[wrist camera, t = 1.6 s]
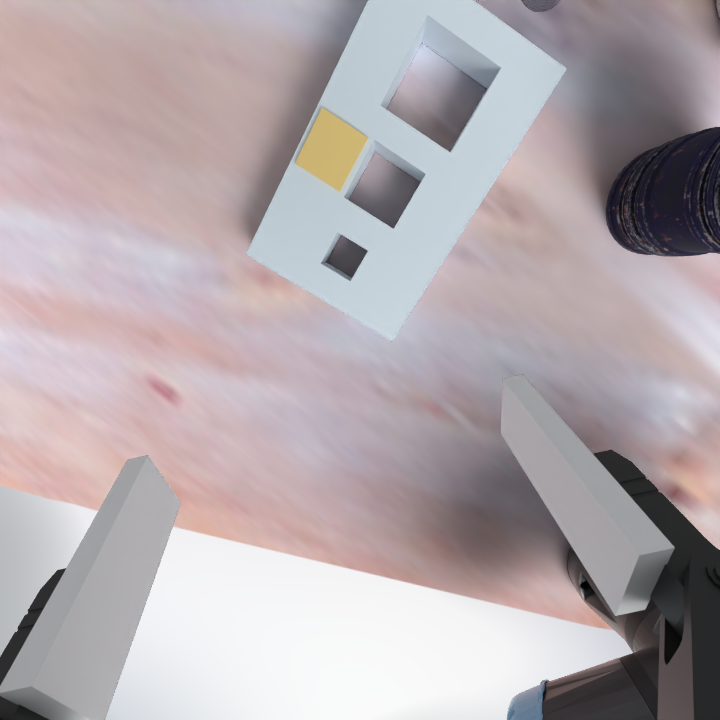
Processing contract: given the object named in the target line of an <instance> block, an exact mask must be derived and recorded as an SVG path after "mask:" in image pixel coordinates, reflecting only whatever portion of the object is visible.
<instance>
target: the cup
mask: <svg viewBox="0 0 720 720" xmlns="http://www.w3.org/2000/svg"><path fill="white" fill-rule="evenodd" d="M716 7H717V12H718V16H719V19H720V0H716Z"/></svg>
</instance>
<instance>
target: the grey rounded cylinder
mask: <svg viewBox="0 0 720 720" xmlns="http://www.w3.org/2000/svg"><path fill="white" fill-rule="evenodd" d="M559 1H560V0H522V2H523V3H524V5H525V6H526V7H527V8H529V9H530V10H532V11H535V12H544V11H547V10H549V9H551V8H553V7H554V6H555V5H556V4H557V3H558V2H559Z"/></svg>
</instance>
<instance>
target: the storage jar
mask: <svg viewBox="0 0 720 720" xmlns="http://www.w3.org/2000/svg"><path fill="white" fill-rule="evenodd" d="M606 219H607V225H608V227H609V230H610V233H611V234H612V236H613V238H614V239H615V240H616V241H617V242H618V244H620V245H621V246H622V247H623V248H625V249H627V250H629V251H631V252H634V253H637V254H644V255H659V256H693V255H702V254H707V253H719V254H720V127H714V128H710V129H705V130H702V131H699V132H696V133H693V134H688V135H685V136H682V137H680V138H677V139H674V140H672V141H669V142H667V143H665V144H663V145H662V146H659V147H657V148H654V149H651V150H649V151H646V152H644V153H643V154H641V155H639V156H638V157H636V158H635V159H634V160H632V161H631V162H630V163H629V164H628V165H627V166H626V167H625V168H624V169H623V170H622V171H621V172H620V174H619V175H618V176H617V178H616V180H615V181H614V183H613V185H612V187H611V190H610V192H609V196H608V199H607V205H606Z"/></svg>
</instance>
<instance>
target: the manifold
mask: <svg viewBox="0 0 720 720" xmlns="http://www.w3.org/2000/svg"><path fill="white" fill-rule="evenodd" d="M421 43H423V44H424V45H426V46H427V47H429V48H430V49H431V50H433V51H434V52H436V53H437V54H439V55H440V56H441V57H443V58H444V59H446V60H447V61H448V62H450V63H451V64H453V65H454V66H456V67H457V68H458V69H460V70H461V71H463V72H464V73H466V74H467V75H468V76H470V77H471V78H473V79H474V80H475V81H477V82H478V83H480V84H481V85H483V86H484V87H485V88H487V90H486V91H485V93H484V95H483V97H482V98H481V100H480V102H479V103H478V105H477V107H476V108H475V110H474V112H473V113H472V115H471V117H470V118H469V120H468V122H467V123H466V125H465V127H464V128H463V130H462V132H461V134H460V135H459V137H458V139H457V140H456V142H455V144H454V145H453V147H452V149H451V150H450V152H449V151H447V150H446V149H444V148H443V147H441V146H440V145H438V144H437V143H435V142H434V141H433V140H431V139H430V138H428V137H427V136H425V135H424V134H422V133H421V132H419V131H418V130H416V129H415V128H413V127H412V126H410V125H409V124H407V123H406V122H404V121H403V120H401V119H400V118H398V117H397V116H395V115H394V114H392V113H391V112H389V111H388V110H386V109H387V107H388V105H389V103H390V101H391V99H392V97H393V96H394V94H395V92H396V90H397V88H398V86H399V84H400V82H401V81H402V79H403V77H404V75H405V73H406V71H407V69H408V67H409V65H410V64H411V62H412V60H413V58H414V56H415V54H416V52H417V50H418V49H419V47H420V45H421ZM566 70H567V68H566V67H564V66H563V65H561V64H560V63H559V62H557V61H556V60H555V59H553V58H552V57H551V56H549V55H548V54H546V53H545V52H544V51H542V50H541V49H540V48H538V47H537V46H536V45H534V44H533V43H531V42H530V41H529V40H527V39H526V38H525V37H523V36H522V35H520V34H519V33H518V32H516V31H515V30H514V29H512V28H511V27H510V26H508V25H507V24H505V23H504V22H503V21H501V20H500V19H499V18H497V17H496V16H495V15H493V14H492V13H490V12H489V11H488V10H486V9H485V8H484V7H482V6H481V5H479V4H478V3H477V2H475V1H474V0H368V1H367V3H366V6H365V8H364V10H363V12H362V14H361V16H360V18H359V20H358V22H357V24H356V26H355V28H354V30H353V33H352V35H351V37H350V39H349V41H348V43H347V45H346V47H345V49H344V51H343V53H342V55H341V58H340V60H339V62H338V64H337V66H336V68H335V70H334V72H333V74H332V76H331V78H330V80H329V82H328V85H327V87H326V89H325V91H324V93H323V95H322V97H321V99H320V101H319V103H318V105H317V107H316V110H315V112H314V114H313V116H312V118H311V120H310V122H309V124H308V126H307V128H306V130H305V132H304V134H303V137H302V139H301V141H300V143H299V145H298V147H297V149H296V151H295V153H294V155H293V157H292V159H291V162H290V164H289V166H288V168H287V170H286V172H285V174H284V176H283V178H282V180H281V182H280V184H279V186H278V189H277V191H276V193H275V195H274V197H273V199H272V201H271V203H270V205H269V207H268V209H267V211H266V214H265V216H264V218H263V220H262V222H261V224H260V226H259V228H258V230H257V232H256V234H255V236H254V238H253V241H252V243H251V245H250V247H249V249H248V251H247V253H246V255H247V256H249V257H250V258H252V259H254V260H255V261H257V262H259V263H260V264H262V265H264V266H266V267H267V268H269V269H271V270H272V271H274V272H276V273H277V274H279V275H281V276H282V277H284V278H286V279H287V280H289V281H291V282H292V283H294V284H296V285H297V286H299V287H301V288H302V289H304V290H306V291H307V292H309V293H311V294H312V295H314V296H316V297H318V298H319V299H321V300H323V301H324V302H326V303H328V304H329V305H331V306H333V307H334V308H336V309H338V310H339V311H341V312H343V313H344V314H346V315H348V316H349V317H351V318H353V319H354V320H356V321H358V322H359V323H361V324H363V325H364V326H366V327H368V328H369V329H371V330H373V331H375V332H376V333H378V334H380V335H381V336H383V337H385V338H386V339H388V340H390V341H391V342H392V341H393V339H394V338H395V336H396V335H397V333H398V331H399V330H400V328H401V327H402V325H403V324H404V322H405V321H406V319H407V317H408V316H409V314H410V313H411V311H412V310H413V308H414V307H415V305H416V303H417V302H418V300H419V299H420V297H421V296H422V294H423V293H424V291H425V289H426V288H427V286H428V285H429V283H430V282H431V280H432V278H433V277H434V275H435V274H436V272H437V271H438V269H439V268H440V266H441V264H442V263H443V261H444V260H445V258H446V257H447V255H448V254H449V252H450V250H451V249H452V247H453V246H454V244H455V243H456V241H457V240H458V238H459V236H460V235H461V233H462V232H463V230H464V229H465V227H466V226H467V224H468V222H469V221H470V219H471V218H472V216H473V215H474V213H475V212H476V210H477V208H478V207H479V205H480V204H481V202H482V201H483V199H484V197H485V196H486V194H487V193H488V191H489V190H490V188H491V187H492V185H493V183H494V182H495V180H496V179H497V177H498V176H499V174H500V173H501V171H502V169H503V168H504V166H505V165H506V163H507V162H508V160H509V159H510V157H511V155H512V154H513V152H514V151H515V149H516V148H517V146H518V145H519V143H520V141H521V140H522V138H523V137H524V135H525V134H526V132H527V130H528V129H529V127H530V126H531V124H532V123H533V121H534V120H535V118H536V116H537V115H538V113H539V112H540V110H541V109H542V107H543V106H544V104H545V102H546V101H547V99H548V98H549V96H550V95H551V93H552V92H553V90H554V88H555V87H556V85H557V84H558V82H559V81H560V79H561V78H562V76H563V74H564V73H565V71H566ZM374 152H376V153H377V154H379V155H380V156H382V157H383V158H385V159H387V160H388V161H390V162H391V163H393V164H394V165H396V166H397V167H399V168H400V169H402V170H403V171H405V172H406V173H408V174H409V175H411V176H412V177H414V178H415V179H417V180H418V181H420V184H419V186H418V188H417V189H416V191H415V193H414V194H413V196H412V198H411V200H410V201H409V203H408V205H407V206H406V208H405V210H404V211H403V213H402V215H401V217H400V218H399V220H398V222H397V223H396V225H395V227H394V229H393V228H391V227H390V226H388V225H387V224H385V223H384V222H382V221H380V220H379V219H377V218H376V217H374V216H372V215H371V214H369V213H368V212H366V211H365V210H363V209H361V208H360V207H358V206H357V205H355V204H354V203H352V202H350V201H349V198H350V197H351V195H352V193H353V191H354V189H355V187H356V185H357V184H358V182H359V180H360V178H361V176H362V174H363V172H364V171H365V169H366V167H367V165H368V163H369V161H370V159H371V158H372V156H373V154H374ZM341 234H342V235H343V236H345V237H346V238H348V239H350V240H351V241H353V242H354V243H356V244H358V245H359V246H361V247H362V248H364V249H366V250H367V251H368V252H367V253H366V255H365V257H364V259H363V260H362V262H361V264H360V266H359V267H358V269H357V271H356V273H355V274H354V276H353V278H351V277H350V276H348V275H347V274H345V273H343V272H342V271H340V270H338V269H337V268H335V267H333V266H332V265H330V264H329V263H327V260H328V258H329V256H330V255H331V253H332V251H333V249H334V247H335V245H336V244H337V242H338V240H339V238H340V236H341Z"/></svg>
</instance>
